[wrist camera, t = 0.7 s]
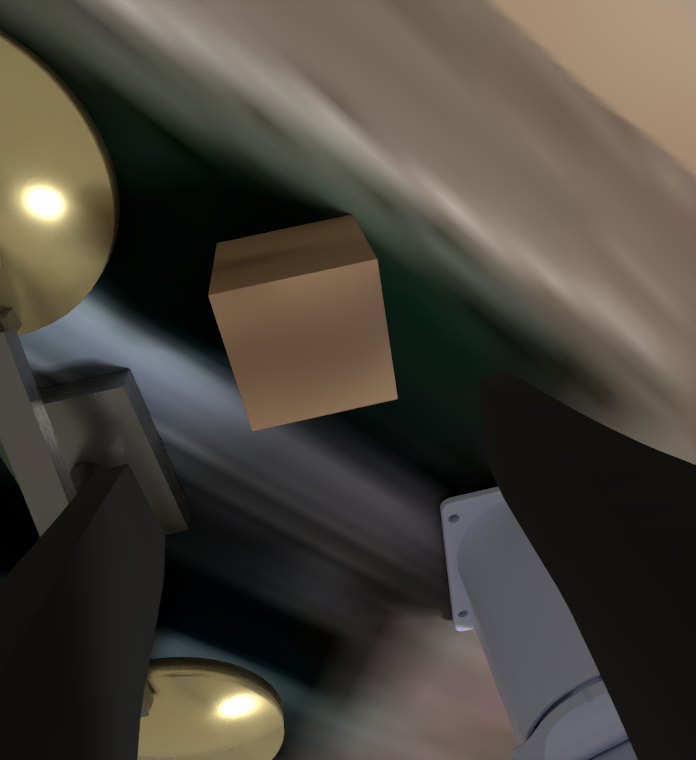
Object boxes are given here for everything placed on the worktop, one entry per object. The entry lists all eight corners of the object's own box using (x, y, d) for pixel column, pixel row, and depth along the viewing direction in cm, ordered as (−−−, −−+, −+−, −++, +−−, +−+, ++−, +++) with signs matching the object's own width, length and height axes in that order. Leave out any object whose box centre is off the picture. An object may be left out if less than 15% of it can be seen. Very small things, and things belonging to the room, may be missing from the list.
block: (371, 333, 21) (397, 398, 17) (252, 359, 21) (252, 431, 17) (351, 214, 19) (376, 259, 15) (217, 242, 19) (208, 295, 15)
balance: (296, 655, 30) (305, 794, 25) (128, 694, 30) (99, 845, 24) (39, -34, 14) (-96, -79, 9) (-325, 36, 14) (-706, 36, 8)
